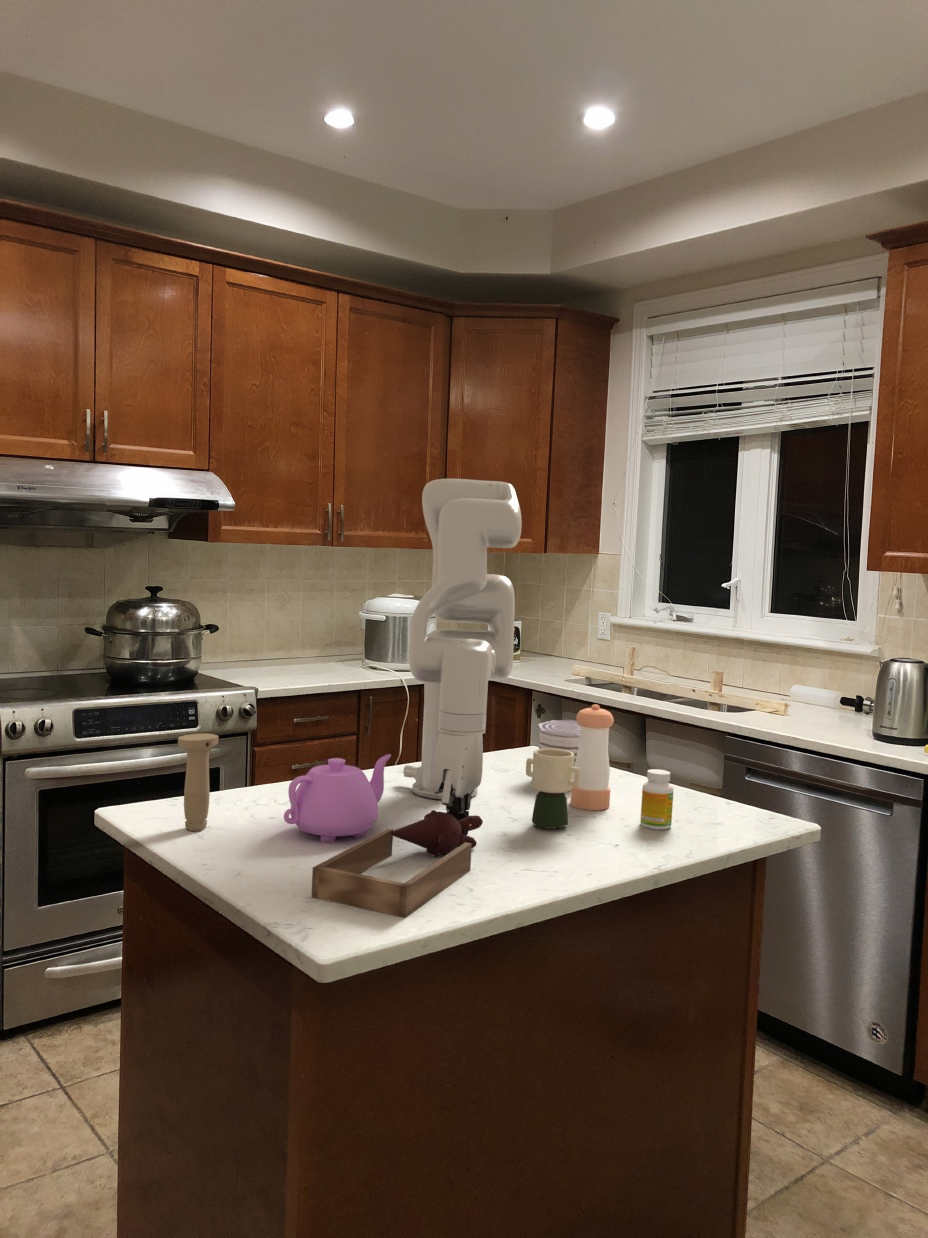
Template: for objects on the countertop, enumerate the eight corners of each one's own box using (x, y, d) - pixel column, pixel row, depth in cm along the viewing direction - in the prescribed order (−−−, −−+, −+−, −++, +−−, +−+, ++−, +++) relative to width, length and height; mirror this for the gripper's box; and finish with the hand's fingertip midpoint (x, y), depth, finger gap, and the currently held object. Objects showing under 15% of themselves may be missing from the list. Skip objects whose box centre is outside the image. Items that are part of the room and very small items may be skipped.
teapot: (365, 813, 168) (368, 745, 167) (413, 834, 157) (416, 761, 156) (262, 830, 155) (265, 756, 155) (307, 854, 145) (309, 774, 144)
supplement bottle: (671, 831, 166) (674, 776, 165) (639, 828, 167) (643, 773, 166) (671, 823, 171) (674, 769, 170) (640, 820, 172) (643, 767, 171)
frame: (311, 897, 127) (312, 867, 127) (386, 854, 146) (387, 828, 146) (405, 917, 121) (407, 887, 121) (470, 870, 141) (471, 843, 140)
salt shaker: (609, 802, 184) (615, 703, 182) (608, 812, 177) (614, 709, 175) (571, 798, 185) (577, 700, 184) (569, 808, 178) (575, 706, 177)
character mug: (587, 829, 165) (592, 755, 164) (565, 838, 159) (570, 761, 158) (534, 816, 171) (538, 744, 170) (512, 824, 166) (515, 750, 165)
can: (600, 782, 199) (604, 725, 199) (572, 791, 191) (575, 732, 190) (554, 772, 206) (557, 717, 206) (524, 781, 198) (528, 723, 197)
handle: (169, 829, 153) (172, 737, 152) (203, 822, 158) (206, 732, 157) (187, 836, 150) (190, 742, 149) (221, 828, 155) (224, 737, 154)
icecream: (405, 825, 140) (494, 825, 146) (388, 800, 146) (474, 801, 153) (394, 867, 141) (483, 865, 148) (378, 840, 148) (464, 839, 155)
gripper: (459, 712, 160) (453, 820, 161) (420, 726, 146) (415, 844, 148) (501, 718, 157) (495, 827, 159) (465, 732, 143) (460, 852, 145)
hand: (456, 835), depth 153 cm, fingers closed
